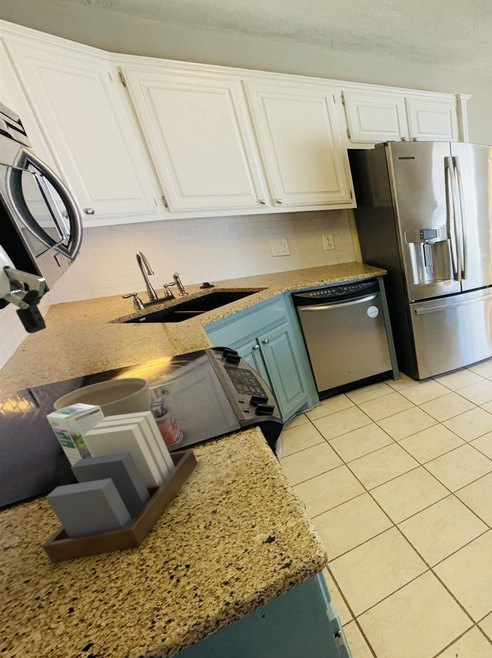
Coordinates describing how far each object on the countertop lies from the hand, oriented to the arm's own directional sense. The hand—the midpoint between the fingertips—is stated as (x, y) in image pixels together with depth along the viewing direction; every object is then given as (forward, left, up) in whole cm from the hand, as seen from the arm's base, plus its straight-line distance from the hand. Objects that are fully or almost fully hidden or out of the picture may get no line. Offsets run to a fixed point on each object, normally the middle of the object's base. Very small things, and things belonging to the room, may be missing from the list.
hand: (0, 333), depth 66 cm
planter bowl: (-6, +24, -32) cm, 41 cm away
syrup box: (-1, +7, -32) cm, 33 cm away
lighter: (+8, +16, -32) cm, 37 cm away
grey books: (+12, -13, -32) cm, 37 cm away
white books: (+12, -1, -32) cm, 34 cm away
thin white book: (+12, -5, -32) cm, 35 cm away
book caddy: (+12, -7, -32) cm, 35 cm away
